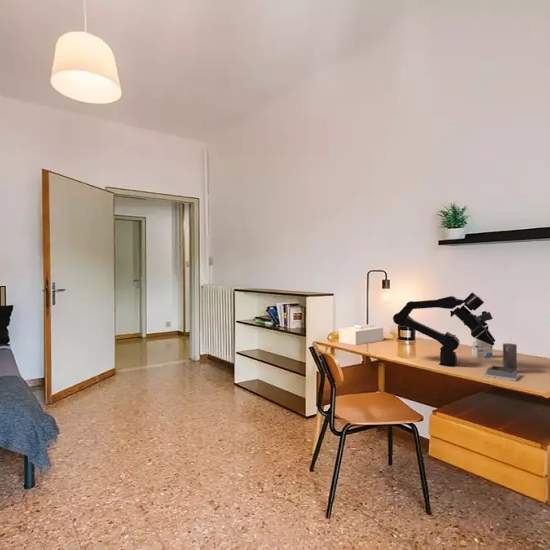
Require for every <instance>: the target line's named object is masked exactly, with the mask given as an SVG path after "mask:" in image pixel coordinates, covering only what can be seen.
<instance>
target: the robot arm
mask: <svg viewBox="0 0 550 550" xmlns="http://www.w3.org/2000/svg"><path fill="white" fill-rule="evenodd" d="M484 303H485V301H484V300H483V299H482V298H481V297H480V296H478V295H476V294H475V293H474V292H471V293H470V294H469V295H468V296H467V297H466V298H465V299H460V298H457V297H455V296H454V295H449V296H445V297H441V298H438V299H428V300H417V301H414V300H413V301H412V300H411V301H408V302H407V303H406V304H405V305H404V306H403V307H402V309H401V310H400V311H399V312H397V313H395V314H394V315H393V317H392V320H393V323H394V324H396V325H399V326H402V327H406V328H410V329H412V330H414V331H416V332H419V333H420V334H422V335H425V336H426V337H429V338H430V339H431V338H432V340H435V341H437V342H438V343H439V344H441V347H440V348H439V349H440V351H439V364H438V365H440V366H446V367H452V368H453V367H455V366H456V365H457V366H458V355H457V353H456V351H455V350H457V349H458V348H459V346H460V339H459V338H458V337H457V336H456V334H452V333H451V332H449V331H446V332H445V333H443V332H441V331H438V330H436V329H434V328H431V327H429V326H428V325H425V324H423V323H420V322H419V321H417V320H415V319H413V317H411V316H410V314H411V313H412V311H413V310H420V309H433V308H436V309H437V308H439V309H446V310H447V309H448V310H450V309H451V310H450V311H449V313H450V317H451V318H452V317H454V315H455V316H456V317H457V318H458V319H459V320H460V321H461V322H462V323H463V325H464V326H466V327H468V328H469V329H470V335H471V337H472V336H473V337H474V338H475V337H476V336H477V337H476V339H478V340H481V341H483V342H486V343H488V344H490V345H492V346H495V342H496V339H495V338H494V336H493V335H492V334H491V332H490V330H489V325H488V323H487V322H486V321H492V320H493V318H494V317H493V316H492V314H491V312H490V311H488V312H487V311H486V310H483V311H481V314H479V315H476V314H473V313H472V312H471V311H477V309H479V308H480V307H481V306H482V305H483V304H484ZM459 306H460V307H459ZM453 309H454V310H453Z"/></svg>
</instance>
